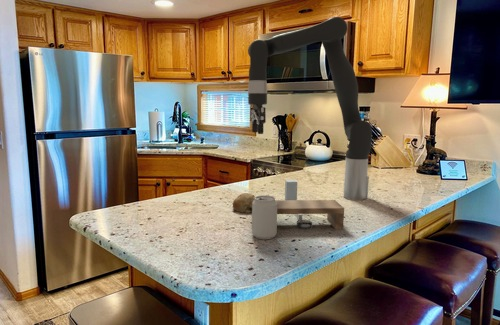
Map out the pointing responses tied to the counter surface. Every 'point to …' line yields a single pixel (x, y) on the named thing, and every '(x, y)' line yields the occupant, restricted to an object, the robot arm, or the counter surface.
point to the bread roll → (243, 203)
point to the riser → (314, 209)
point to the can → (264, 217)
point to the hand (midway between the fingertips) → (257, 133)
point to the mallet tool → (291, 193)
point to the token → (304, 224)
